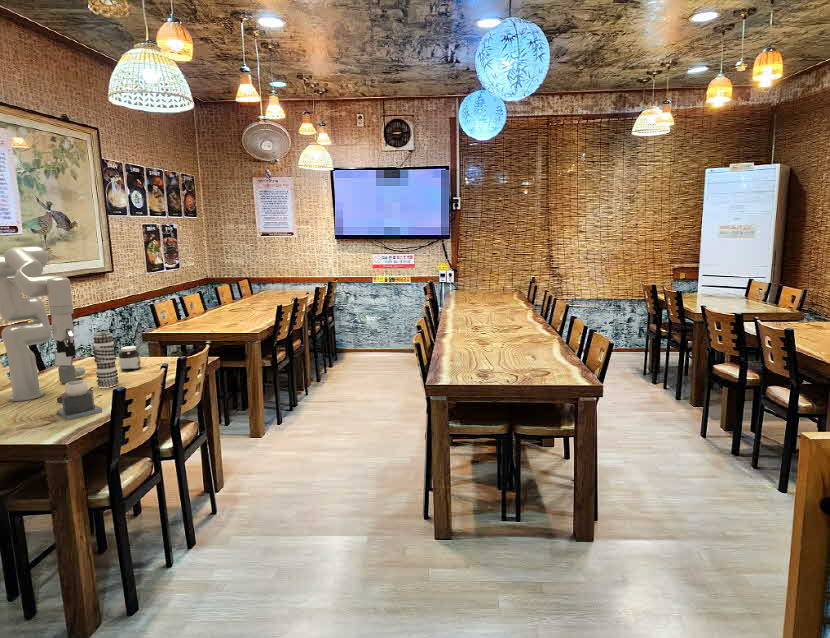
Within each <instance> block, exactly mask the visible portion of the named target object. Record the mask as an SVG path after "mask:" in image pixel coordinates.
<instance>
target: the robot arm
mask: <svg viewBox="0 0 830 638" xmlns="http://www.w3.org/2000/svg"><path fill="white" fill-rule="evenodd" d="M48 262H49V256H48V253H47V252H46V250H45V249H43V248H42V247H40V246H16V247H15V246H14V247H11V248H9V249H7V250H5V251H4V253H3V256H0V316H1V318H2V320H3V321H5V322H9V323H10V322H21V321H27V320H28V321H29V320H31V322H22V323H17V324H10V325H8V326H6V327H4V328H3V329H2V331H1V334H0V335H1V340H2V342H3V344H4V345H3V346H4V347H5V351H6V356H7V363H8V368H9V369H8V371H9V376H10V383H11V384H10V385H11V392H12V394H11V395H9V396H8V400H9V401H10V402H22V401H29V400H35V399H38V398H41V397H43V396H44V395H46V394H45V391H44V390H41V389H40V382H39V375H38V367H37V359H36V355H35V353H34V352H33V351H32V350H31V349H30V348H28V347H29V346H33V345H39V344H43V343H47V342H49V341H50V340H51V339H52V338H53V339H54V340H55V346H56V352H57V353H62V352H65V353H66V357H71V356H73V357H75V356H76V343H75V329H74V328H75V327H74V322H73V317H72V316H73V315H72V314H74V303H73V297H72V288H71V287H72V286H71V281H70V279H69V278H68V277H64V276H61V275H42V273H43V271H44V268H45V267H46V265H48ZM10 277H14V281H13V280H12V279H11V278H10ZM21 294H23V295H24V296H26V297H23V296H22V295H21ZM39 297H47V300H48V306H49V308H48V309H49V315H50V316H51V324H50V320H49V316H48V312H47V309H46V306H45V303H44V301H43V300H42V299H41V298H39Z"/></svg>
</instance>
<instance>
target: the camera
mask: <svg viewBox="0 0 830 638" xmlns="http://www.w3.org/2000/svg"><path fill="white" fill-rule="evenodd" d="M73 358H74V356H71V357H66V353H65V352H62V353H57V351H55V352H54V362H53V363H54V364H53V367H58V368H57V369H58V371H57V372H58V378H59V382H60V383H64V384H66V383H68V382H71V381H77V378H78V377H79V378H80V377H81V376H82V377H83V376H84V375H85V374H86V369H85V368H84V367H83V366H78V367H75V365H74V364H73V362H74V361H73V360H74V359H73Z"/></svg>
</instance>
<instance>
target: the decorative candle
mask: <svg viewBox="0 0 830 638" xmlns="http://www.w3.org/2000/svg"><path fill="white" fill-rule="evenodd" d="M113 335H114V334H113V333H111V331H109V330H108V331H103V330H102V331H97V332H95V333H94V334H93V336H92V338H93V347H92V350H93V352H92V353H93V358H94V360H93V361H94V363H95V364H96V372H95V373H96V378H97V379H96V382H97V383H96V385H97V388H98V387H110V386H114V385H118V384H119V382H120V380H119V377H118V375H119V373H118V369H117V366H116V365H117V364H116V361H117V357H115V356H116V355H117V352H116V351H117V350H116V349H115V348H116V346H117V345H115V344H116V343H115V342H114V340H113V337H114V336H113ZM117 383H118V384H117ZM118 386H119V385H118Z"/></svg>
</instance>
